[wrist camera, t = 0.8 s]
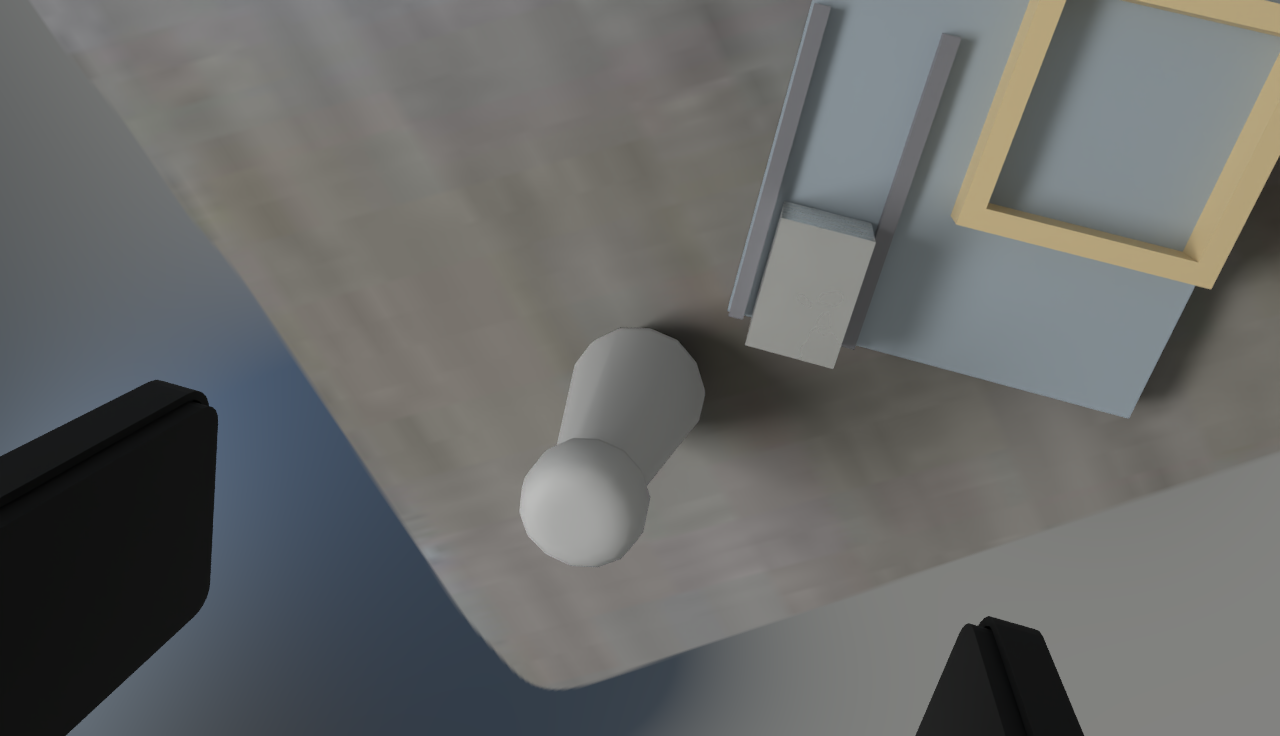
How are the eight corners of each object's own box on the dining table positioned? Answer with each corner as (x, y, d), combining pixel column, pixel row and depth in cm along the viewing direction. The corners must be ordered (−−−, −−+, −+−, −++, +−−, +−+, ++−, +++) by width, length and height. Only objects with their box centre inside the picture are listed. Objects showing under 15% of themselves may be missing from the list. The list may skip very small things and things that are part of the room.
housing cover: (784, 200, 34) (781, 217, 31) (871, 223, 34) (875, 242, 31) (750, 319, 36) (744, 345, 33) (831, 341, 36) (833, 369, 33)
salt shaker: (673, 290, 39) (609, 415, 27) (732, 399, 40) (697, 564, 28) (561, 343, 41) (456, 482, 29) (622, 446, 42) (546, 619, 30)
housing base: (852, -147, 31) (857, -167, 28) (1328, -42, 30) (1398, -49, 26) (731, 296, 38) (722, 326, 35) (1113, 398, 37) (1145, 441, 33)
